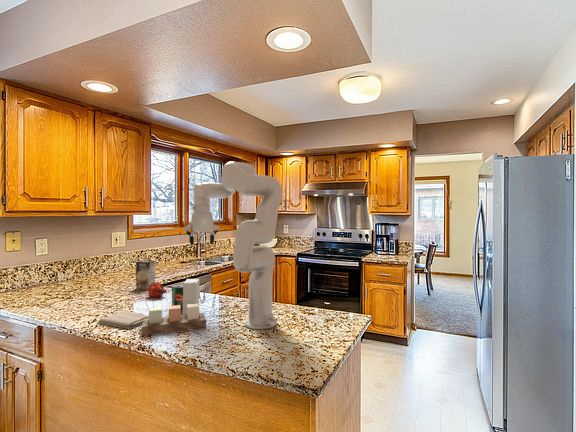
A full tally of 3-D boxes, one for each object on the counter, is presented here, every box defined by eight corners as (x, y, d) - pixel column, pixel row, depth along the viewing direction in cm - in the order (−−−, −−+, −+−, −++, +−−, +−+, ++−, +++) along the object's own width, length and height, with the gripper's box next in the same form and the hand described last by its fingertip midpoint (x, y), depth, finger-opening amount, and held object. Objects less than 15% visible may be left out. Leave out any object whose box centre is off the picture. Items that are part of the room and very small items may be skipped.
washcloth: (130, 330, 127) (130, 322, 127) (96, 324, 134) (96, 317, 134) (153, 321, 138) (153, 314, 138) (121, 316, 145) (121, 309, 145)
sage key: (161, 319, 130) (161, 306, 130) (161, 322, 126) (161, 309, 125) (149, 320, 128) (149, 307, 128) (149, 324, 124) (149, 311, 124)
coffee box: (135, 288, 195) (135, 261, 195) (141, 286, 201) (141, 260, 201) (149, 289, 193) (149, 262, 193) (155, 287, 200) (155, 260, 200)
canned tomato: (181, 305, 160) (181, 282, 160) (192, 307, 156) (192, 284, 156) (167, 309, 154) (167, 285, 153) (179, 311, 150) (179, 287, 149)
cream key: (198, 315, 134) (198, 303, 134) (199, 318, 130) (199, 306, 130) (186, 316, 133) (186, 304, 133) (187, 320, 129) (187, 307, 129)
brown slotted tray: (203, 320, 138) (203, 312, 138) (205, 328, 128) (206, 320, 128) (143, 326, 130) (143, 318, 130) (141, 335, 121) (141, 326, 121)
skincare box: (186, 311, 151) (186, 278, 151) (199, 310, 151) (199, 278, 151) (182, 316, 142) (182, 282, 142) (196, 316, 143) (196, 282, 143)
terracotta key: (180, 317, 132) (180, 305, 132) (180, 320, 128) (180, 308, 128) (168, 318, 131) (168, 306, 130) (168, 322, 126) (168, 309, 126)
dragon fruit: (152, 297, 182) (161, 304, 173) (140, 290, 176) (149, 297, 168) (162, 283, 184) (171, 290, 176) (150, 276, 179) (159, 283, 171)
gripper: (185, 208, 153) (186, 245, 153) (221, 209, 162) (221, 243, 162) (181, 209, 160) (182, 244, 160) (216, 209, 169) (216, 242, 169)
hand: (202, 244), depth 161 cm, fingers open, 9 cm apart
